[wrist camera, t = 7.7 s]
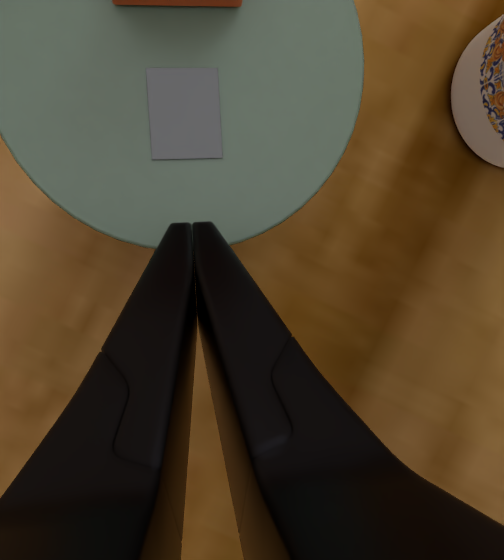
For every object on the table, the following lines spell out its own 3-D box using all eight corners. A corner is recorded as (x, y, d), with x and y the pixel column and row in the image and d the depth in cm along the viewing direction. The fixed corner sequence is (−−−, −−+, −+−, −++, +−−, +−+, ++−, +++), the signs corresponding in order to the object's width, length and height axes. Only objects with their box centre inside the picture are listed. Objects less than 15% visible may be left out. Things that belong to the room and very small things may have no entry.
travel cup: (287, 242, 21) (371, 241, 11) (93, 252, 19) (-5, 261, 10) (279, 46, 20) (361, -139, 10) (76, 45, 19) (-48, -164, 9)
